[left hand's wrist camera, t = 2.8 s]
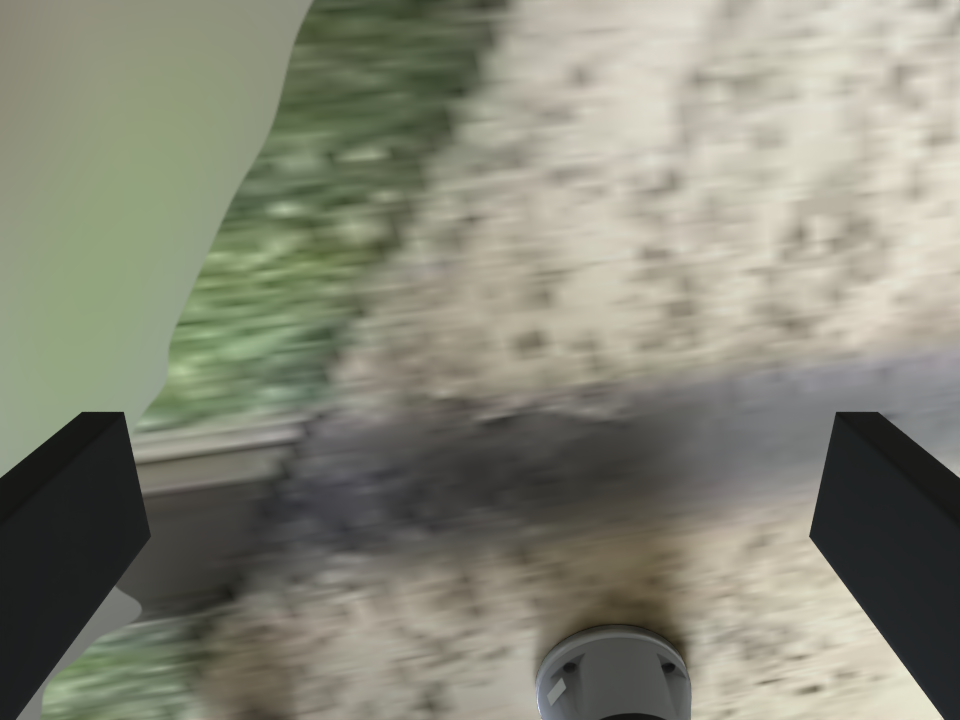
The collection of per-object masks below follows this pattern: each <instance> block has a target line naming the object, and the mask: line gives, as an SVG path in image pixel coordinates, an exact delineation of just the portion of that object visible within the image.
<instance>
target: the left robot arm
mask: <svg viewBox="0 0 960 720" xmlns="http://www.w3.org/2000/svg"><path fill="white" fill-rule="evenodd" d="M150 537H151V535H150V530H149V526H148V521H147V516H146V512H145V507H144V503H143V498H142V493H141V489H140V484H139V480H138V475H137V470H136V466H135V461H134V457H133V452H132V447H131V443H130V438H129V434H128V429H127V424H126V420H125V415H124V412H81V413H80V414H79V415H78V416H77V417H75V418H74V419H73V420H72V421H70V422H69V423H68V424H67V425H65V426H64V427H63V428H62V429H61V430H59V431H58V432H57V433H56V434H54V435H53V436H52V437H51V438H49V439H48V440H47V441H46V442H44V443H43V444H42V445H41V446H39V447H38V448H37V449H36V450H35V451H33V452H32V453H31V454H30V455H28V456H27V457H26V458H25V459H23V460H22V461H21V462H20V463H18V464H17V465H16V466H15V467H14V468H12V469H11V470H10V471H9V472H7V473H6V474H5V475H4V476H2V477H1V478H0V720H16V718H17V717H18V716H19V714H20V713H21V712H22V710H23V709H24V708H25V706H26V705H27V704H28V702H29V701H30V700H31V698H32V697H33V695H34V694H35V693H36V691H37V690H38V689H39V687H40V686H41V685H42V683H43V682H44V681H45V679H46V678H47V676H48V675H49V674H50V672H51V671H52V670H53V668H54V667H55V666H56V664H57V663H58V662H59V660H60V659H61V657H62V656H63V655H64V653H65V652H66V651H67V649H68V648H69V647H70V645H71V644H72V643H73V641H74V640H75V638H76V637H77V636H78V634H79V633H80V632H81V630H82V629H83V628H84V626H85V625H86V624H87V622H88V621H89V619H90V618H91V617H92V615H93V614H94V613H95V611H96V610H97V609H98V607H99V606H100V605H101V603H102V602H103V601H104V599H105V598H106V596H107V595H108V594H109V592H110V591H111V590H112V588H113V587H114V586H115V584H116V583H117V582H118V580H119V579H120V578H121V576H122V575H123V573H124V572H125V571H126V569H127V568H128V567H129V565H130V564H131V563H132V561H133V560H134V559H135V557H136V556H137V554H138V553H139V552H140V550H141V549H142V548H143V546H144V545H145V544H146V542H147V541H148V540H149V538H150ZM809 537H810V538H811V540H812V541H813V542H814V544H815V545H816V546H817V548H818V549H819V550H820V552H821V553H822V554H823V556H824V557H825V559H826V560H827V561H828V563H829V564H830V565H831V567H832V568H833V569H834V571H835V572H836V573H837V575H838V576H839V578H840V579H841V580H842V582H843V583H844V584H845V586H846V587H847V588H848V590H849V591H850V592H851V594H852V595H853V596H854V598H855V599H856V601H857V602H858V603H859V605H860V606H861V607H862V609H863V610H864V611H865V613H866V614H867V615H868V617H869V618H870V620H871V621H872V622H873V624H874V625H875V626H876V628H877V629H878V630H879V632H880V633H881V634H882V636H883V637H884V639H885V640H886V641H887V643H888V644H889V645H890V647H891V648H892V649H893V651H894V652H895V653H896V655H897V656H898V657H899V659H900V660H901V662H902V663H903V664H904V666H905V667H906V668H907V670H908V671H909V672H910V674H911V675H912V676H913V678H914V679H915V681H916V682H917V683H918V685H919V686H920V687H921V689H922V690H923V691H924V693H925V694H926V695H927V697H928V698H929V700H930V701H931V702H932V704H933V705H934V706H935V708H936V709H937V710H938V712H939V713H940V714H941V716H942V717H943V718H944V720H960V478H959V477H958V476H956V475H955V474H954V473H953V472H951V471H950V470H949V469H948V468H947V467H945V466H944V465H943V464H942V463H940V462H939V461H938V460H937V459H935V458H934V457H933V456H932V455H930V454H929V453H928V452H927V451H925V450H924V449H923V448H922V447H921V446H919V445H918V444H917V443H916V442H914V441H913V440H912V439H911V438H909V437H908V436H907V435H906V434H904V433H903V432H902V431H901V430H900V429H898V428H897V427H896V426H895V425H893V424H892V423H891V422H890V421H888V420H887V419H886V418H885V417H883V416H882V415H881V414H880V413H879V412H836V415H835V420H834V424H833V429H832V434H831V438H830V443H829V447H828V452H827V457H826V461H825V466H824V470H823V475H822V480H821V484H820V489H819V493H818V498H817V503H816V507H815V512H814V516H813V521H812V526H811V530H810V535H809ZM536 694H537V703H538V709H539V712H540V715H541V717H542V720H691V684H690V679H689V676H688V673H687V670H686V667H685V664H684V662H683V659H682V657H681V656H680V654H679V652H678V651H677V650H676V649H675V647H674V646H673V645H672V644H671V643H670V642H668V641H667V640H666V639H664V638H663V637H661V636H660V635H658V634H656V633H654V632H651V631H649V630H646V629H643V628H639V627H634V626H627V625H606V626H599V627H594V628H590V629H586V630H584V631H581V632H578V633H576V634H574V635H572V636H570V637H568V638H566V639H565V640H563V641H562V642H560V643H559V644H558V645H557V646H555V647H554V648H553V649H552V650H551V651H550V652H549V654H548V655H547V656H546V657H545V659H544V660H543V662H542V664H541V666H540V668H539V671H538V674H537V678H536Z"/></svg>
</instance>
